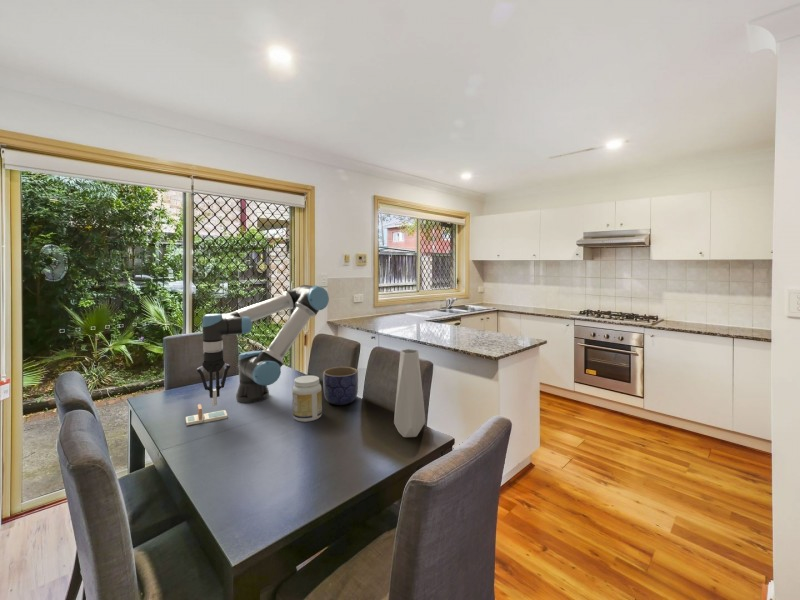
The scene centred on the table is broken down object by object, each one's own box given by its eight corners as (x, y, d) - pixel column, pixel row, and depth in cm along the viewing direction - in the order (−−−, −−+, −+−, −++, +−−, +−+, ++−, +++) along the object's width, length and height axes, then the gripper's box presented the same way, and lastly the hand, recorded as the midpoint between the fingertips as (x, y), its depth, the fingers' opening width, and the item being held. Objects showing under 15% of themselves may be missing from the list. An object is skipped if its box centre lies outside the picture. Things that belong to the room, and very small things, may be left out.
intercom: (201, 416, 162) (201, 403, 161) (203, 422, 156) (202, 408, 155) (185, 419, 159) (185, 406, 158) (186, 425, 153) (185, 411, 152)
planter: (365, 399, 183) (365, 369, 182) (342, 410, 170) (342, 378, 168) (339, 393, 192) (339, 364, 191) (316, 403, 178) (315, 372, 177)
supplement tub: (312, 409, 171) (311, 372, 169) (327, 416, 162) (327, 378, 161) (287, 416, 162) (286, 378, 161) (302, 425, 154) (301, 385, 152)
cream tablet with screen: (225, 412, 167) (225, 409, 167) (227, 418, 161) (227, 415, 161) (202, 416, 162) (202, 413, 162) (203, 422, 156) (203, 419, 156)
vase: (388, 429, 150) (388, 349, 147) (414, 425, 154) (415, 346, 151) (400, 443, 139) (400, 356, 136) (428, 437, 143) (429, 353, 140)
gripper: (228, 347, 165) (230, 399, 167) (195, 350, 159) (197, 404, 161) (231, 350, 159) (232, 404, 161) (196, 353, 152) (198, 410, 154)
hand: (214, 404), depth 161 cm, fingers closed
